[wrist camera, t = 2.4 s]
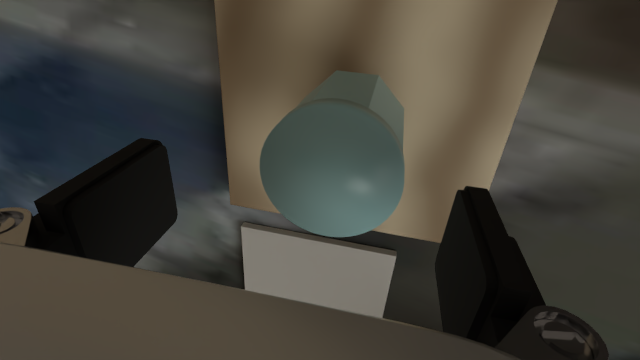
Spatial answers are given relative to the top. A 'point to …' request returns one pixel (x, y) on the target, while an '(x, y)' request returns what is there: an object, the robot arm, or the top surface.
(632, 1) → the top surface
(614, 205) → the top surface
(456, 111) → the post block
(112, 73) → the top surface
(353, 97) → the cap
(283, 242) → the grey mat
